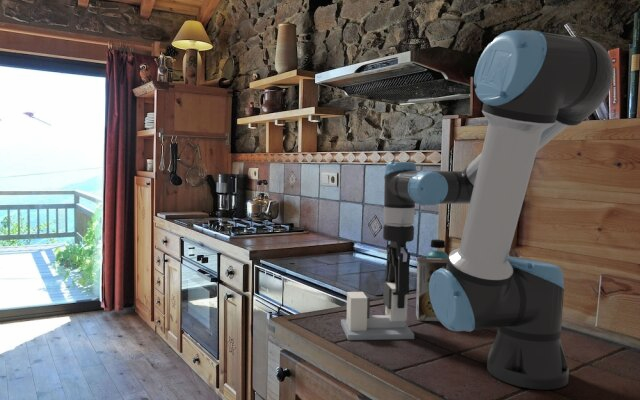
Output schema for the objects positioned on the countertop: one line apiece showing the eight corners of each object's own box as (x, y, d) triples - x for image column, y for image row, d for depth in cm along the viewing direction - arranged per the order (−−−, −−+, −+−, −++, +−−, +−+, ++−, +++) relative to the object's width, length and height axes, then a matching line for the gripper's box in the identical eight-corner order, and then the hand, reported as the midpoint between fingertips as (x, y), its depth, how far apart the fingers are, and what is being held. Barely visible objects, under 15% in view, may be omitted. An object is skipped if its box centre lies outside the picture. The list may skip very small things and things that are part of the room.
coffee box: (448, 315, 140) (450, 257, 139) (452, 322, 134) (454, 262, 132) (415, 313, 141) (417, 256, 140) (417, 320, 134) (419, 261, 133)
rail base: (414, 338, 120) (415, 301, 120) (348, 340, 119) (348, 301, 118) (401, 323, 132) (402, 288, 132) (340, 323, 131) (341, 289, 130)
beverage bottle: (429, 302, 152) (431, 237, 151) (450, 306, 148) (452, 239, 147) (420, 307, 147) (422, 239, 145) (441, 311, 143) (444, 242, 142)
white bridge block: (406, 320, 123) (407, 288, 122) (388, 321, 123) (389, 288, 122) (400, 313, 129) (401, 282, 128) (382, 313, 129) (383, 282, 128)
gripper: (425, 229, 115) (421, 328, 117) (403, 219, 134) (400, 304, 136) (393, 229, 114) (390, 329, 116) (375, 219, 133) (373, 305, 135)
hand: (395, 315), depth 126 cm, fingers closed on white bridge block, 6 cm apart
